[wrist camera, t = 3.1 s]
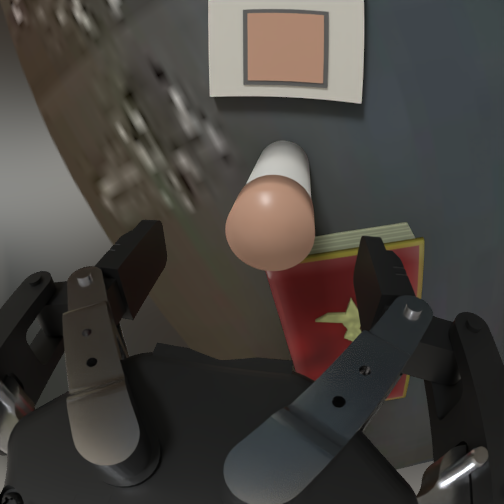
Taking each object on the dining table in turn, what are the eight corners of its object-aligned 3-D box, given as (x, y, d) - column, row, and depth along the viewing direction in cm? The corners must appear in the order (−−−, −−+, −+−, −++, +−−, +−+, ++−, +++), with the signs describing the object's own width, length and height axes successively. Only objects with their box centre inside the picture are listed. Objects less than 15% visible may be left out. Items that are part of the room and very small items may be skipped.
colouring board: (357, -69, 11) (359, -74, 10) (359, 102, 18) (361, 103, 17) (212, -71, 12) (209, -75, 11) (213, 95, 19) (209, 97, 19)
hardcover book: (305, 382, 36) (304, 411, 32) (265, 237, 26) (258, 267, 22) (400, 370, 33) (405, 399, 29) (409, 214, 22) (425, 241, 19)
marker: (311, 141, 20) (319, 195, 12) (308, 191, 22) (310, 274, 14) (257, 138, 21) (223, 190, 12) (257, 187, 23) (227, 267, 14)
